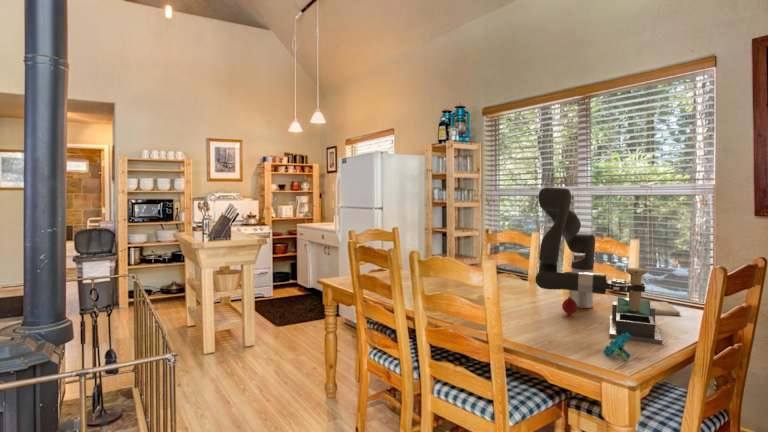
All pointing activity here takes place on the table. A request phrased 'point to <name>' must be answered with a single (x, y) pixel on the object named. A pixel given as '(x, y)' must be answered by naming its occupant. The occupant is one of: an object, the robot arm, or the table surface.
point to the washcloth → (664, 308)
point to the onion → (569, 306)
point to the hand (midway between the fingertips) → (644, 287)
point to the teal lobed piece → (618, 346)
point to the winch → (634, 322)
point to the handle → (635, 280)
